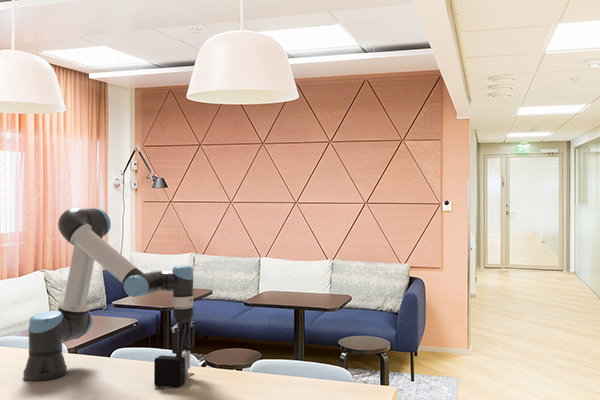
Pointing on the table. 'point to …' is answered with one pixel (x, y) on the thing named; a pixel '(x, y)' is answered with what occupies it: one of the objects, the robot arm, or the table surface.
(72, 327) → the robot arm
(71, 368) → the table surface
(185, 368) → the marker peg
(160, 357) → the electronic device
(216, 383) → the table surface
